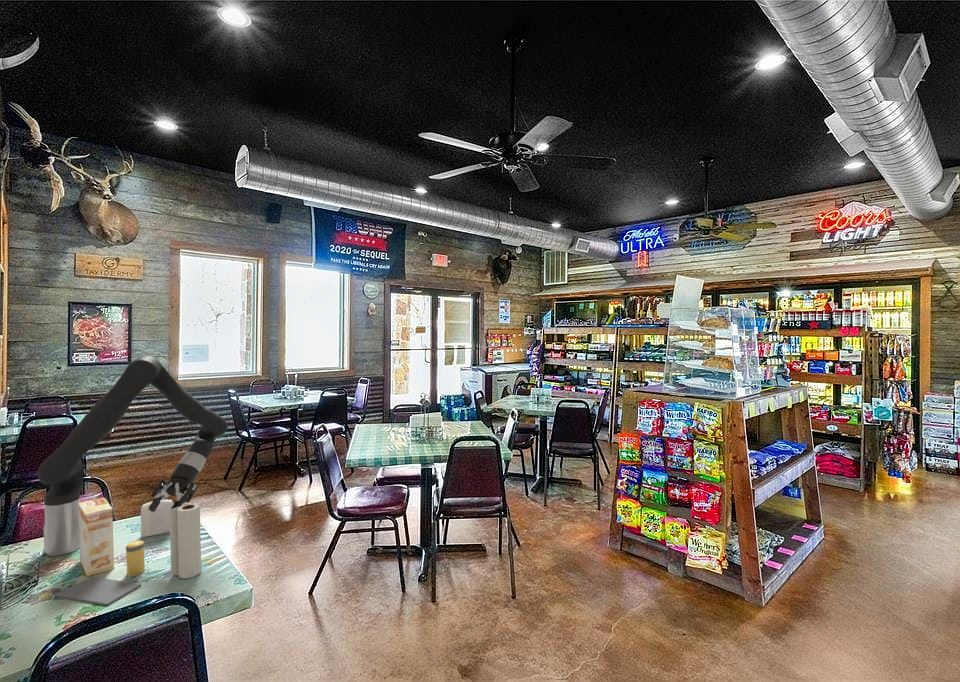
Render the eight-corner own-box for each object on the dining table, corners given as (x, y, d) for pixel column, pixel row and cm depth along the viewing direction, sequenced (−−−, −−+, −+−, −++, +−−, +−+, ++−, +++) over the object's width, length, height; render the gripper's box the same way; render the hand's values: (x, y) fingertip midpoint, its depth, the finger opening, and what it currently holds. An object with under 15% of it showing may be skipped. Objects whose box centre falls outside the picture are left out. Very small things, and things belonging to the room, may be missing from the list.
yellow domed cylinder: (123, 575, 145) (122, 546, 145) (136, 567, 150) (136, 540, 150) (134, 576, 144) (134, 548, 144) (148, 569, 149) (147, 541, 148)
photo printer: (174, 527, 179) (173, 496, 179) (174, 532, 176) (173, 499, 175) (141, 534, 174) (140, 501, 173) (140, 538, 170) (139, 505, 170)
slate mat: (55, 596, 134) (54, 594, 134) (91, 578, 144) (91, 576, 144) (107, 605, 129) (107, 603, 129) (141, 586, 139) (141, 584, 139)
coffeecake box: (115, 568, 149) (113, 508, 149) (86, 577, 144) (84, 514, 144) (106, 552, 160) (104, 496, 159) (79, 560, 154) (77, 502, 154)
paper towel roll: (205, 570, 148) (204, 504, 147) (188, 580, 142) (186, 511, 141) (188, 567, 150) (187, 501, 149) (171, 576, 144) (169, 508, 144)
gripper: (166, 461, 165) (136, 505, 155) (199, 463, 162) (171, 509, 151) (179, 471, 171) (151, 514, 160) (212, 474, 168) (186, 518, 157)
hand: (161, 512), depth 156 cm, fingers open, 8 cm apart
